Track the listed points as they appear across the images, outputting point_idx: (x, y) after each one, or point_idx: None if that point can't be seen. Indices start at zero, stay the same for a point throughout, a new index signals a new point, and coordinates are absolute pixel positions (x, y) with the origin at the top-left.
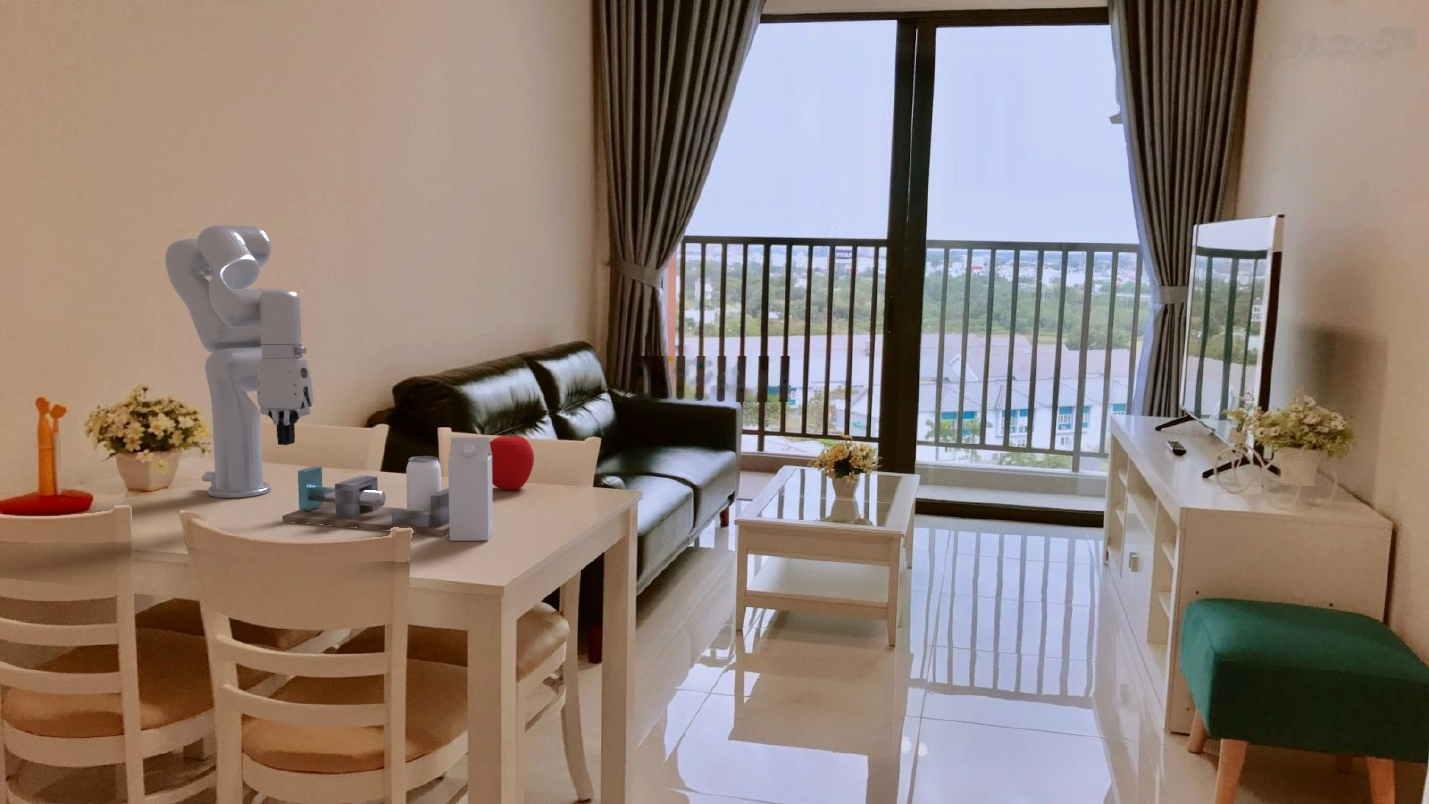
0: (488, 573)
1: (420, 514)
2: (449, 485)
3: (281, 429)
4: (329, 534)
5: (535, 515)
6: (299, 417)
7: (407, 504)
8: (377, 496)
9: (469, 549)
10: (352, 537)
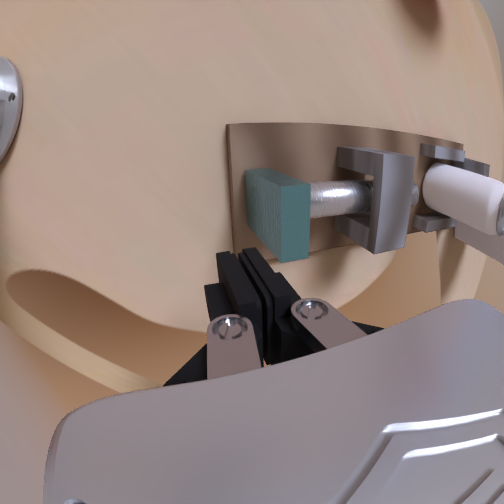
0: (469, 293)
1: (449, 227)
2: (500, 262)
3: (263, 355)
4: (347, 278)
5: (481, 108)
6: (368, 327)
7: (440, 208)
8: (412, 206)
9: (464, 251)
10: (377, 274)
